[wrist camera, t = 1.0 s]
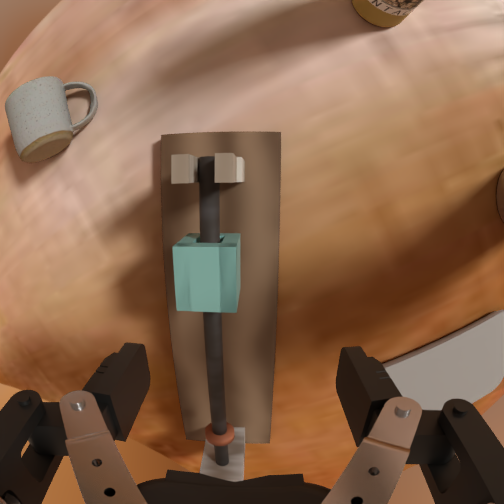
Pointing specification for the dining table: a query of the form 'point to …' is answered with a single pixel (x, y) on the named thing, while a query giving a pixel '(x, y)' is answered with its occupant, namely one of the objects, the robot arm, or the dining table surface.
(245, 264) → the stand
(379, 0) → the paper tube
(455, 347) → the tablet
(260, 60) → the dining table surface
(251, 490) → the robot arm
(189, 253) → the sleeve
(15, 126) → the ceramic mug
